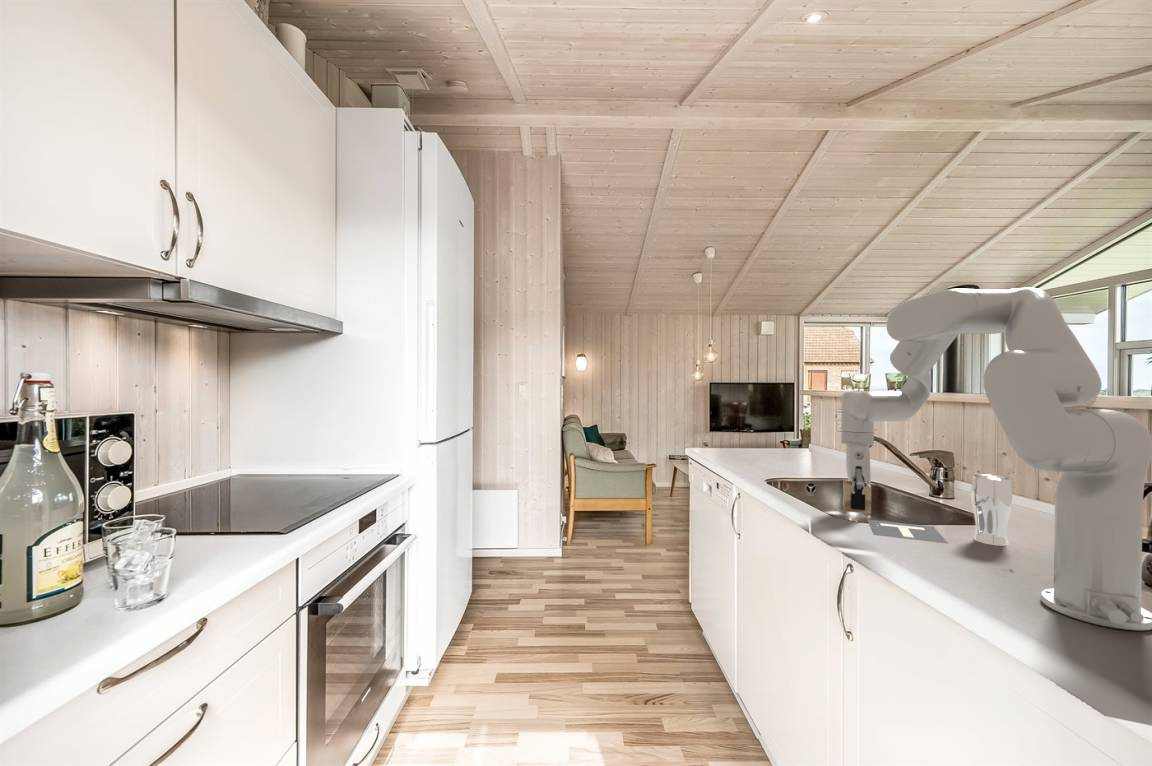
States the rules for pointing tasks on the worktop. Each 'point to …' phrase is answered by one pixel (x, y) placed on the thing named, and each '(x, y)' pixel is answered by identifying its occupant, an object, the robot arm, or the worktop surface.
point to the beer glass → (991, 508)
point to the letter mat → (906, 531)
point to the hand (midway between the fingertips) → (856, 505)
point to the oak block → (847, 497)
